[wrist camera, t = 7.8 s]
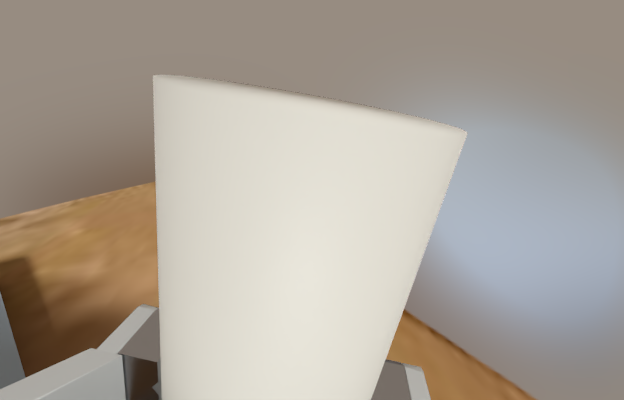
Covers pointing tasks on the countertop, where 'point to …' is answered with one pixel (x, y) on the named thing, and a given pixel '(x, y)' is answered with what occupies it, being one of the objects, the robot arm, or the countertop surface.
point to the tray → (8, 352)
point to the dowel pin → (287, 237)
